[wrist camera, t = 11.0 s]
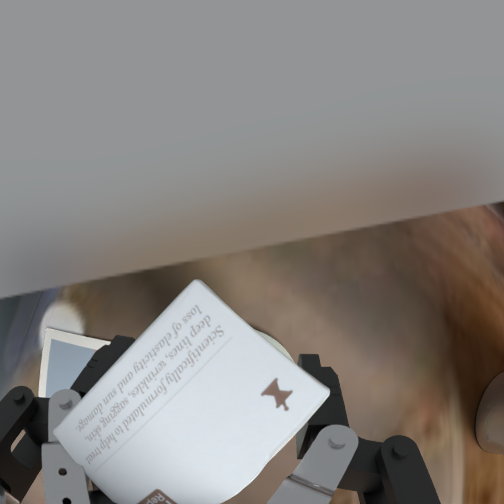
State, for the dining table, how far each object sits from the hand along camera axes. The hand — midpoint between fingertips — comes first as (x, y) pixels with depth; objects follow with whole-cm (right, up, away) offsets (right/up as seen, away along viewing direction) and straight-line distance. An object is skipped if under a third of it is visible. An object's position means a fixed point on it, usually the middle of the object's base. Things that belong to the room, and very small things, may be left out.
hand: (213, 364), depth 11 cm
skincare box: (0, -4, +5) cm, 7 cm away
